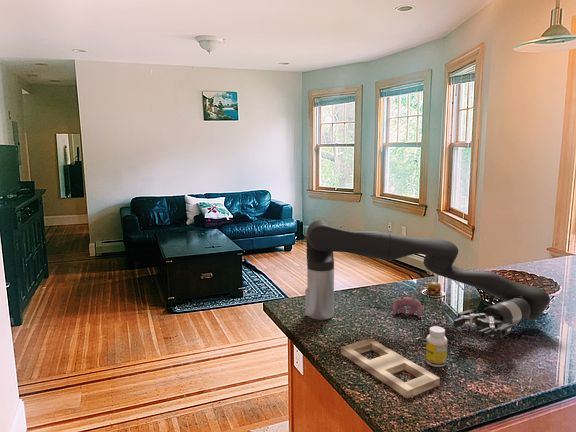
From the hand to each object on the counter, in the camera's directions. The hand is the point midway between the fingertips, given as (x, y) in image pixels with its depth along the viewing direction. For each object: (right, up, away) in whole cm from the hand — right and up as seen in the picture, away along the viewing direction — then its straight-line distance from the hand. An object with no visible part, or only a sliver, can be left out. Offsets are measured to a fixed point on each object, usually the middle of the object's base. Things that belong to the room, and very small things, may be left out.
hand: (467, 329), depth 124 cm
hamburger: (+7, +1, +49) cm, 50 cm away
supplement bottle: (-10, -8, -4) cm, 14 cm away
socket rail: (-24, -9, -6) cm, 27 cm away
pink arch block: (-9, -3, +29) cm, 31 cm away
